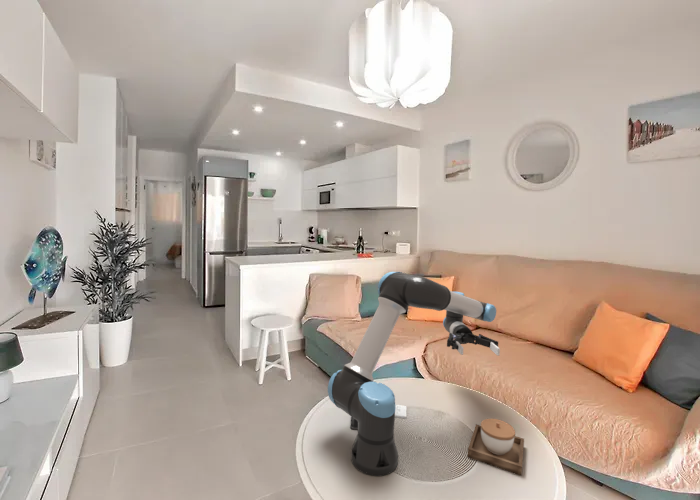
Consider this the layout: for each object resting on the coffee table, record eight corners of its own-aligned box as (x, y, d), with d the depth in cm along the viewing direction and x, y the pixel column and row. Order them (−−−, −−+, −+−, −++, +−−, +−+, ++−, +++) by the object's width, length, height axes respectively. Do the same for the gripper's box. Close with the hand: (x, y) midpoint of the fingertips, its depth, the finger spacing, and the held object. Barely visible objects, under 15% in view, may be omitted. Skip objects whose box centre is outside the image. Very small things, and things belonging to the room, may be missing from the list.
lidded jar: (473, 440, 120) (475, 414, 119) (501, 437, 122) (503, 413, 121) (490, 461, 110) (492, 433, 109) (520, 458, 111) (522, 431, 111)
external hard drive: (376, 405, 144) (406, 408, 142) (374, 416, 136) (406, 420, 134) (376, 401, 144) (406, 405, 142) (374, 412, 135) (406, 416, 134)
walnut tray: (467, 457, 113) (468, 448, 112) (475, 431, 127) (475, 424, 126) (521, 476, 105) (522, 466, 105) (523, 446, 119) (524, 438, 119)
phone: (350, 427, 126) (352, 405, 140) (350, 430, 126) (352, 408, 141) (371, 429, 125) (371, 406, 140) (371, 432, 125) (371, 409, 140)
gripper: (488, 342, 148) (513, 362, 127) (431, 340, 147) (446, 360, 126) (490, 325, 147) (514, 342, 126) (432, 323, 147) (447, 340, 126)
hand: (480, 351), depth 126 cm, fingers open, 13 cm apart
